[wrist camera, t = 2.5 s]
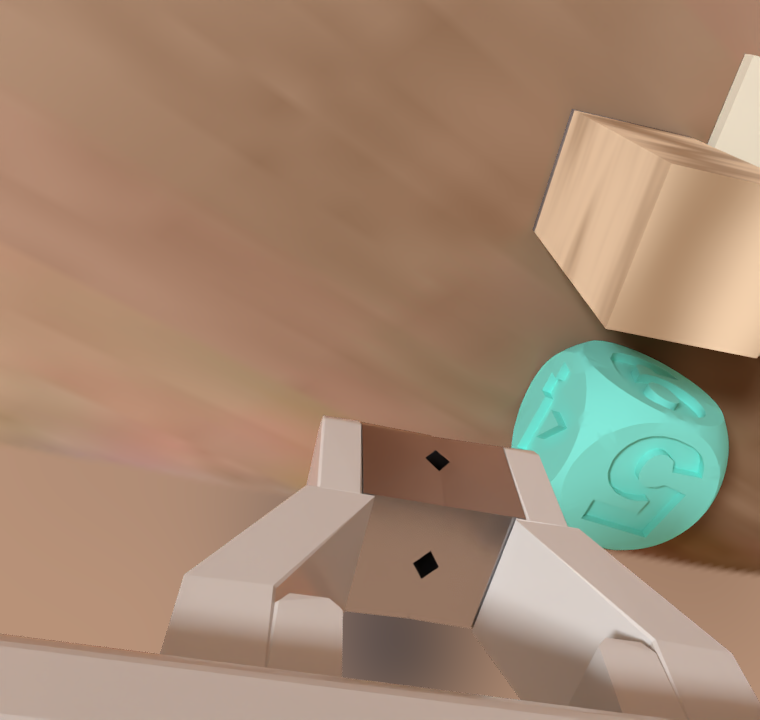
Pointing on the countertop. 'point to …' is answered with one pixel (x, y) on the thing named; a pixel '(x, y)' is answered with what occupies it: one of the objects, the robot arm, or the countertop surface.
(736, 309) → the birch block
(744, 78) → the mat
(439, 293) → the countertop surface
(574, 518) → the decorative dice
